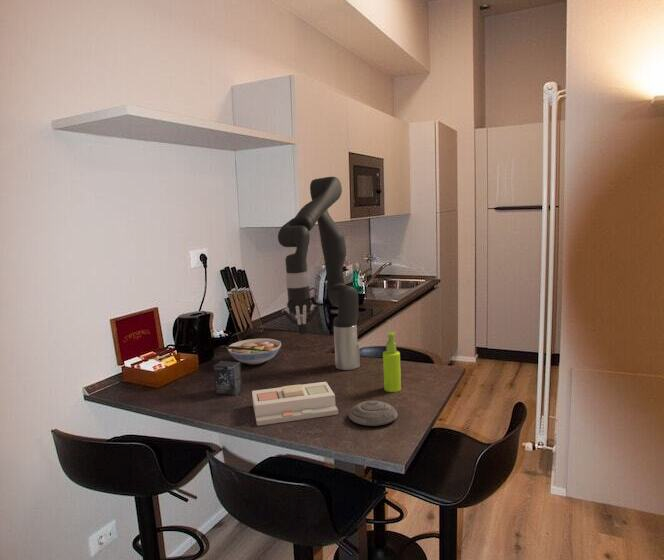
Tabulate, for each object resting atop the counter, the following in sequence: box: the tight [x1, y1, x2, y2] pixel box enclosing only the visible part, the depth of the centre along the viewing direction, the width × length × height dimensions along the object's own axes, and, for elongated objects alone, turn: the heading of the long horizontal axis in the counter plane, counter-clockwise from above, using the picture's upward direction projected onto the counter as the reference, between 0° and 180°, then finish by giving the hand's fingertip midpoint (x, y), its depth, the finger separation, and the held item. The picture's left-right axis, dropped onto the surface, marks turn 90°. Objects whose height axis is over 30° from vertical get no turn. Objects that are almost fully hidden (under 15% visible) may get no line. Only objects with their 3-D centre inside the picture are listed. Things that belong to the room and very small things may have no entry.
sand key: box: [281, 383, 303, 398], centre depth 162 cm, size 6×6×3 cm
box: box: [213, 360, 243, 396], centre depth 179 cm, size 8×6×11 cm
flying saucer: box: [347, 399, 399, 427], centre depth 152 cm, size 15×15×6 cm
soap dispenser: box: [382, 331, 402, 393], centre depth 174 cm, size 6×7×20 cm
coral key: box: [258, 392, 278, 401], centre depth 160 cm, size 6×6×3 cm
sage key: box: [306, 386, 327, 395], centre depth 164 cm, size 6×6×3 cm
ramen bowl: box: [218, 338, 282, 366], centre depth 212 cm, size 25×23×8 cm
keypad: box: [251, 381, 339, 426], centre depth 161 cm, size 25×16×5 cm, turn 103°
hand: (302, 334), depth 172 cm, fingers closed
